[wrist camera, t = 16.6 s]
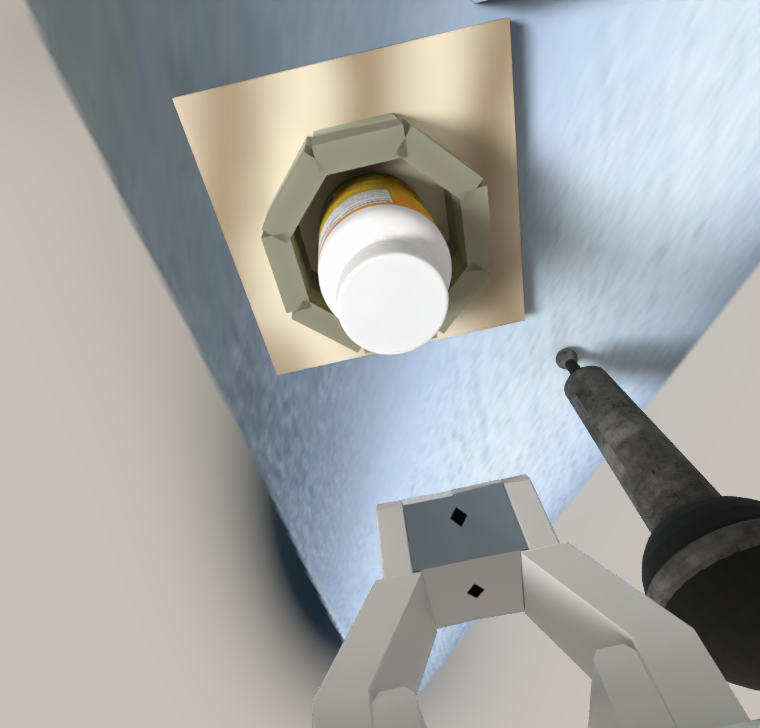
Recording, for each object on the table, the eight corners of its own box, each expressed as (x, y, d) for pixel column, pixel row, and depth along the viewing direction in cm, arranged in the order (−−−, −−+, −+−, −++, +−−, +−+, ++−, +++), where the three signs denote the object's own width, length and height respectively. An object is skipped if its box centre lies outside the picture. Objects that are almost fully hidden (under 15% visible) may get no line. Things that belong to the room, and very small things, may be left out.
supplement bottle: (436, 254, 27) (484, 345, 19) (341, 287, 28) (349, 390, 20) (407, 152, 24) (448, 208, 16) (302, 191, 25) (291, 265, 17)
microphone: (597, 396, 35) (849, 723, 18) (501, 397, 34) (671, 738, 18) (629, 306, 31) (980, 610, 15) (522, 304, 31) (762, 623, 14)
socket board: (501, 18, 23) (543, 13, 18) (518, 311, 31) (550, 355, 27) (179, 96, 23) (145, 108, 19) (278, 364, 31) (271, 416, 27)
